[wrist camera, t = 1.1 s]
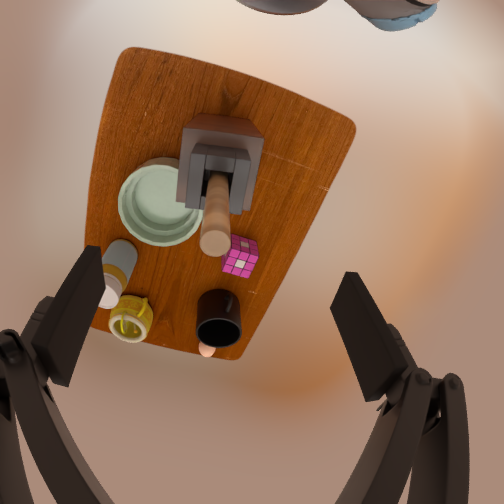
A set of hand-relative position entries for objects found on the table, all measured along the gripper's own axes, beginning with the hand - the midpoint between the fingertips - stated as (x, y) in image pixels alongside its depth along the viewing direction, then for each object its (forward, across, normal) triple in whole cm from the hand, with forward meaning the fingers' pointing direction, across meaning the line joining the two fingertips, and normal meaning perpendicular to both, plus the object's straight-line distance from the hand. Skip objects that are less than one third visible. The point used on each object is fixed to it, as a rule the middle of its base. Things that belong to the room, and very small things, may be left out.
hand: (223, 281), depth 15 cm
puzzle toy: (+40, +6, -22) cm, 46 cm away
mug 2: (+40, +4, -37) cm, 55 cm away
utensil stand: (+40, -1, 0) cm, 40 cm away
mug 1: (+40, -17, -42) cm, 61 cm away
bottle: (+40, -19, -26) cm, 52 cm away
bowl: (+40, -10, -12) cm, 43 cm away
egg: (+40, +2, -52) cm, 66 cm away
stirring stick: (+20, 0, 0) cm, 20 cm away
